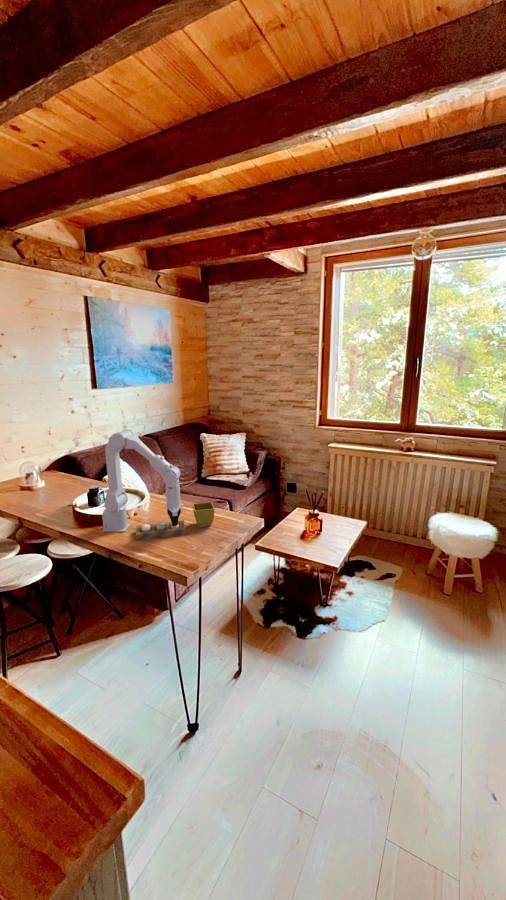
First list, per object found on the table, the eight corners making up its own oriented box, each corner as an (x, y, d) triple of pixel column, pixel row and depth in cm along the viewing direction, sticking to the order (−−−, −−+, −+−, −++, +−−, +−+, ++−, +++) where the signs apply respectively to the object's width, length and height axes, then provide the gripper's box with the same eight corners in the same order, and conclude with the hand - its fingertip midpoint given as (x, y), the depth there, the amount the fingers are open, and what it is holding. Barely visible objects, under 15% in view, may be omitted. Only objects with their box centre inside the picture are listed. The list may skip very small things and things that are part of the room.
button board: (136, 540, 154) (135, 535, 154) (136, 531, 163) (136, 525, 162) (185, 534, 159) (185, 529, 159) (183, 525, 168) (183, 520, 167)
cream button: (141, 533, 157) (141, 528, 157) (141, 530, 161) (141, 524, 160) (150, 532, 158) (150, 527, 157) (150, 529, 161) (150, 523, 161)
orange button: (171, 532, 160) (170, 527, 160) (170, 529, 164) (170, 523, 163) (179, 531, 161) (179, 526, 161) (179, 528, 165) (178, 523, 164)
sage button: (156, 532, 159) (156, 526, 158) (156, 528, 162) (155, 523, 161) (165, 531, 160) (164, 525, 159) (164, 527, 163) (164, 522, 162)
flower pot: (195, 530, 164) (194, 510, 162) (193, 522, 172) (192, 503, 170) (215, 527, 166) (214, 508, 164) (212, 519, 174) (211, 501, 172)
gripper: (184, 500, 153) (185, 531, 156) (181, 489, 167) (182, 517, 170) (166, 502, 151) (168, 533, 154) (165, 490, 165) (166, 519, 168)
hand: (174, 525), depth 162 cm, fingers closed, pressing on orange button
